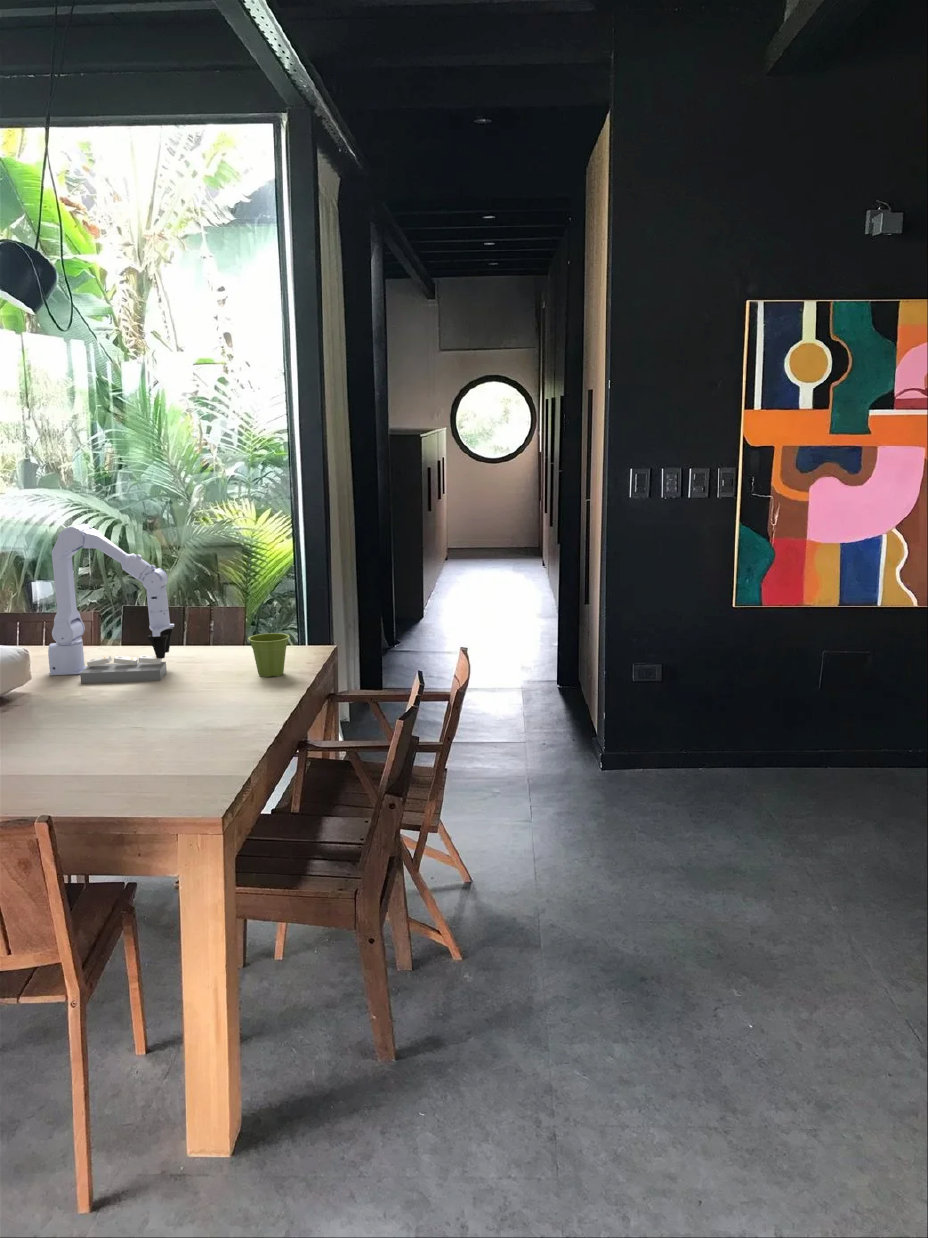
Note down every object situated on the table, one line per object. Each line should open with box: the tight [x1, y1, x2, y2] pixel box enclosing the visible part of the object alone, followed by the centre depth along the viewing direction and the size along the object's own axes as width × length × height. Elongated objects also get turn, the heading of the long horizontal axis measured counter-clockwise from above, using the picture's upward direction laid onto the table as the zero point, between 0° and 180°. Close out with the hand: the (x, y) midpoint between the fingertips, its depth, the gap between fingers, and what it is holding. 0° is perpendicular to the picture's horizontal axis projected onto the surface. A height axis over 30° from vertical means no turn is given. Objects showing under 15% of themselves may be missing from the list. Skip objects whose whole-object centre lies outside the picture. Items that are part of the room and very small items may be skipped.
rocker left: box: [86, 655, 112, 667], centre depth 283 cm, size 6×4×2 cm, turn 97°
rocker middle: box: [113, 655, 139, 665], centre depth 284 cm, size 6×4×2 cm, turn 98°
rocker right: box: [138, 654, 163, 664], centre depth 284 cm, size 6×4×2 cm, turn 97°
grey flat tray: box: [79, 661, 168, 684], centre depth 282 cm, size 22×10×3 cm, turn 97°
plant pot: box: [248, 632, 291, 678], centre depth 284 cm, size 12×12×11 cm
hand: (163, 655), depth 288 cm, fingers open, 7 cm apart
